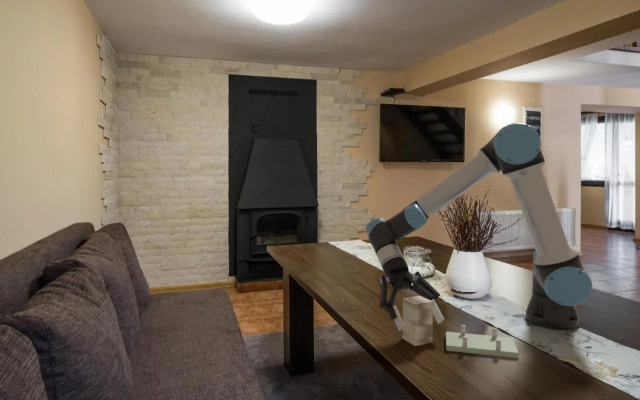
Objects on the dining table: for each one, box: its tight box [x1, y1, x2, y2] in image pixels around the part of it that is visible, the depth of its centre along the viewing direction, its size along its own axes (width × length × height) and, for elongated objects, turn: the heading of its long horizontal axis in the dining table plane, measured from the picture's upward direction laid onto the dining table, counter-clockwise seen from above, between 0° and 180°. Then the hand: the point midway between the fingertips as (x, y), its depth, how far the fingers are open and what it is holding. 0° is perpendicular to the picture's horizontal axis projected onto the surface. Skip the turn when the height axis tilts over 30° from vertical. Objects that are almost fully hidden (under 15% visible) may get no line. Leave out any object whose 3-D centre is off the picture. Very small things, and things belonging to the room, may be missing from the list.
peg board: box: [445, 324, 520, 359], centre depth 116 cm, size 18×10×4 cm, turn 74°
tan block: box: [402, 295, 434, 347], centre depth 120 cm, size 6×6×12 cm
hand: (422, 325), depth 118 cm, fingers open, 13 cm apart
